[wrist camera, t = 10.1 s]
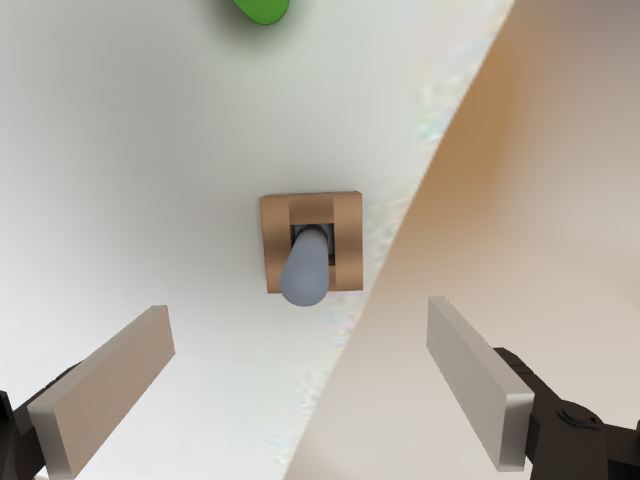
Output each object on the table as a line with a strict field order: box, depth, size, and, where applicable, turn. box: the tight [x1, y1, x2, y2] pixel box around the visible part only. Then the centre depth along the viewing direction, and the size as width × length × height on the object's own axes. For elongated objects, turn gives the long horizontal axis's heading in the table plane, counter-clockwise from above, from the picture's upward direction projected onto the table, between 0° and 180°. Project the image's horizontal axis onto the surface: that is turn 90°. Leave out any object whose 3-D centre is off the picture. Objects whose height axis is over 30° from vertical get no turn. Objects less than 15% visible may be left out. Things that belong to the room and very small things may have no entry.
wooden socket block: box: [260, 191, 363, 293], centre depth 35 cm, size 11×11×4 cm
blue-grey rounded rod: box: [279, 224, 329, 306], centre depth 30 cm, size 4×4×16 cm
